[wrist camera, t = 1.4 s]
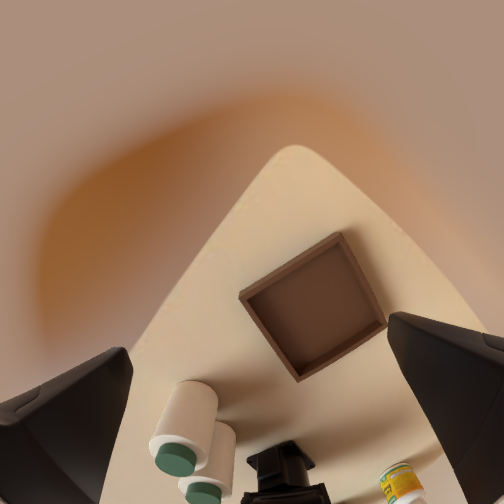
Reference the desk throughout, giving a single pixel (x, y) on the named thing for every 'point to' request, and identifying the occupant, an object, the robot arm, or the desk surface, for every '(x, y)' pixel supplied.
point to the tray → (315, 307)
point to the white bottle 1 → (185, 429)
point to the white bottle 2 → (213, 470)
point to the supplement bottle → (402, 485)
